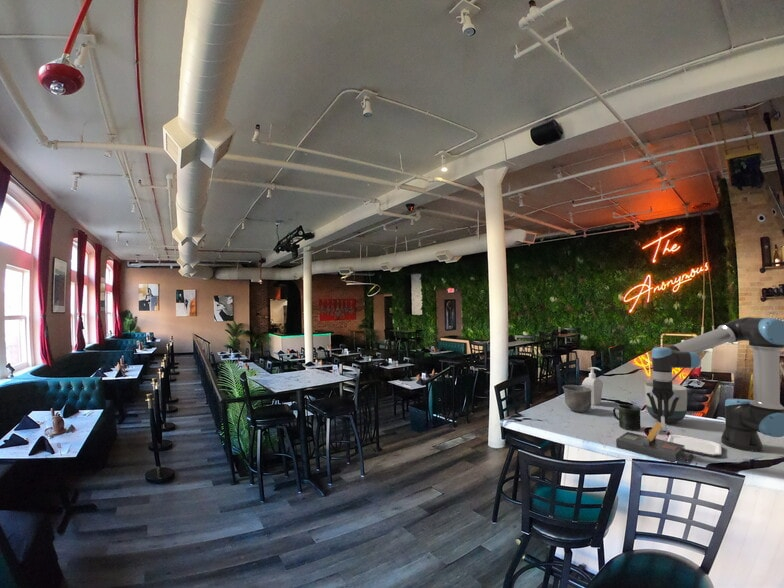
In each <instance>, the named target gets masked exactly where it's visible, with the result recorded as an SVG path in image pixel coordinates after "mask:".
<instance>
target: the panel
mask: <svg viewBox="0 0 784 588" xmlns="http://www.w3.org/2000/svg"><path fill="white" fill-rule="evenodd" d="M647 436H648V435H642V434H638V433H633V432H630V431H626V432H625V433H623V434H622V435H620V436H619V437H617V438H616V441H615V443H616V444H615V445H616V448H617V447H618V448H617V449H620V450H624V449H625V451H629V452H632V453H635V454H639V455H644V456H647V457H651V458H655V459H657V460H661V461H666V462H669V461H670V462H669V463H672V462H675V461H677V460H678V461H680V459H682V457H683V456H684V455H686V451H685V445H681V444H677V443H673V442H668V441H667V440H664V439H659V438H657V437H656V438H655V439H654V440H653V441H651V442H650V441H649V439H646V438H647Z"/></svg>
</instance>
